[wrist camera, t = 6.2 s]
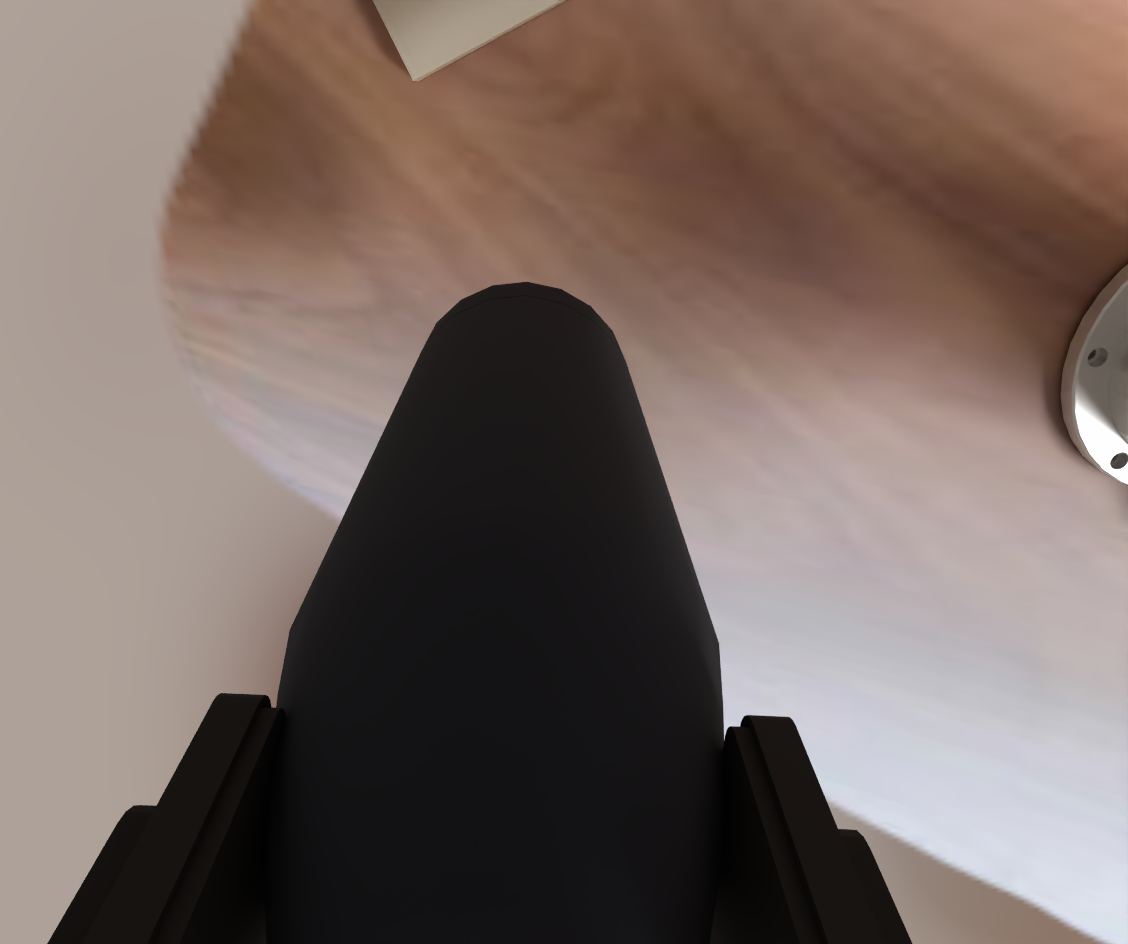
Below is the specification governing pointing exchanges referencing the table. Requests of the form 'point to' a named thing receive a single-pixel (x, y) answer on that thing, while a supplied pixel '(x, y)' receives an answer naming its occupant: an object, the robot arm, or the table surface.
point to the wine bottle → (503, 665)
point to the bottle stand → (451, 27)
